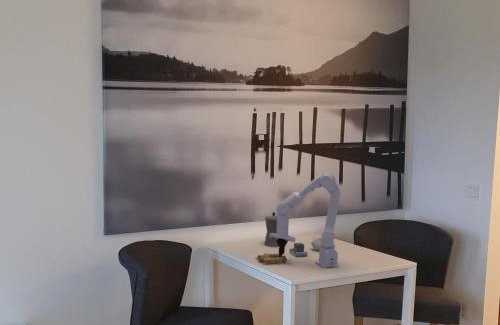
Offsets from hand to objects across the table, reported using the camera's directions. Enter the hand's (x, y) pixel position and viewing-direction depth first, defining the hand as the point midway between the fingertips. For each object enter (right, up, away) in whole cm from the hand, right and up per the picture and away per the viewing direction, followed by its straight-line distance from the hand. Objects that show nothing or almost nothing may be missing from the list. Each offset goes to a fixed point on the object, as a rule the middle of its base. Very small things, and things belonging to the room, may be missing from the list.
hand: (281, 254), depth 279 cm
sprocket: (-5, -3, 0) cm, 6 cm away
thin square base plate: (-5, -3, 0) cm, 6 cm away
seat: (+9, -3, +13) cm, 16 cm away
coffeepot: (-3, -1, +32) cm, 32 cm away
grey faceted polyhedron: (+21, -2, +25) cm, 33 cm away
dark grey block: (+9, -2, +13) cm, 16 cm away
